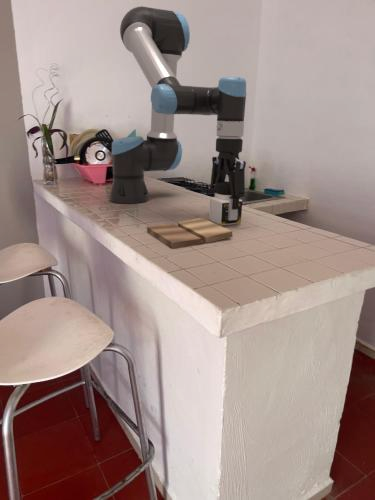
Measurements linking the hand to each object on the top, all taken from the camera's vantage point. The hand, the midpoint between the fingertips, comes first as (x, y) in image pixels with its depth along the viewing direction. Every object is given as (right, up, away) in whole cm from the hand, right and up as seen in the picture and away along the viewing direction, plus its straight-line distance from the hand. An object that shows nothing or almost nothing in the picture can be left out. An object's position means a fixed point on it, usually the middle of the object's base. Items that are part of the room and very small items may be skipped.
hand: (225, 216), depth 113 cm
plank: (-7, -5, -10) cm, 13 cm away
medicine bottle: (0, -2, +1) cm, 2 cm away
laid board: (-15, -7, -14) cm, 21 cm away
